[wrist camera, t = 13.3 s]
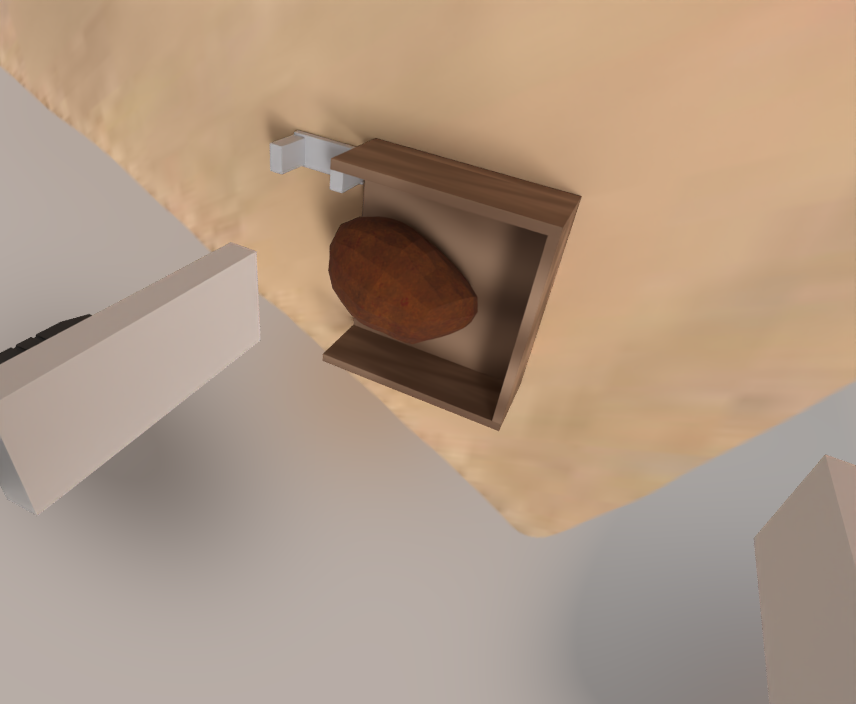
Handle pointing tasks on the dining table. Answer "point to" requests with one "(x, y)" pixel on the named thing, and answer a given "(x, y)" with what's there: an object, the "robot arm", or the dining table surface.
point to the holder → (476, 260)
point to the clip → (311, 157)
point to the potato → (398, 281)
